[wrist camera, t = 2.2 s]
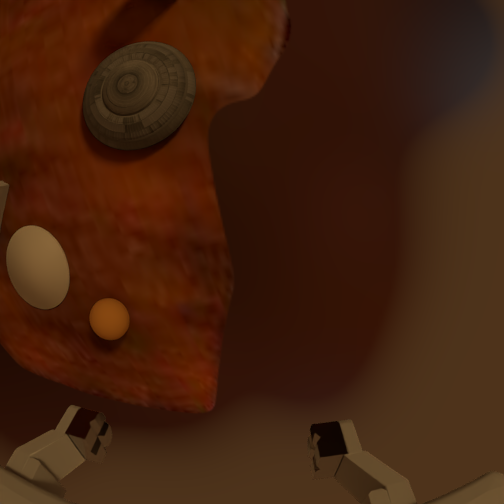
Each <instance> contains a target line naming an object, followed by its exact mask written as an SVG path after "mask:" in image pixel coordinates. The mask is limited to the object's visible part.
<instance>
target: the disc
mask: <svg viewBox="0 0 504 504" xmlns="http://www.w3.org/2000/svg"><path fill="white" fill-rule="evenodd" d="M6 261H7V269H8V273H9V277H10V279H11V282H12V284H13V286H14V288H15V289H16V291H17V292H18V294H19V295H20V296H21V297H22V298H23V299H24V300H25V301H26V302H27V303H29V304H30V305H32V306H34V307H36V308H40V309H51V308H54V307H56V306H57V305H59V304H60V303H61V302H62V301H63V300H64V298H65V296H66V294H67V292H68V288H69V282H70V274H69V266H68V262H67V259H66V256H65V253H64V251H63V249H62V247H61V246H60V244H59V243H58V241H57V240H56V239H55V238H54V236H53V235H52V234H50V233H49V232H48V231H46V230H45V229H43V228H41V227H38V226H32V225H31V226H25V227H22V228H21V229H19V230H18V231H16V232H15V234H14V235H13V236H12V238H11V240H10V242H9V245H8V248H7V256H6Z"/></svg>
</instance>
